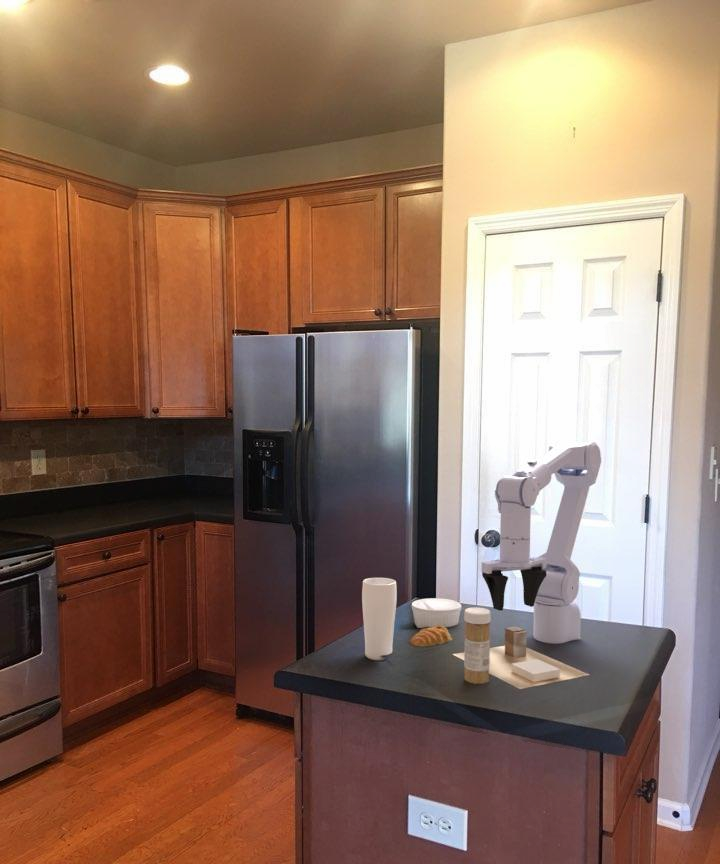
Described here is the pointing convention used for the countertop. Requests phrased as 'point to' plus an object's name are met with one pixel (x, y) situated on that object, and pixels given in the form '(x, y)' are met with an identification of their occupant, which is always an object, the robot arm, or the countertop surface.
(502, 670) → the board
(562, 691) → the countertop surface
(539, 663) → the tile
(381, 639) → the drinking glass
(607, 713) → the countertop surface
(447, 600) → the ramekin
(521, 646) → the tan wooden block
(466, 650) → the sprinkles bottle
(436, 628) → the pastry
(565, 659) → the countertop surface
